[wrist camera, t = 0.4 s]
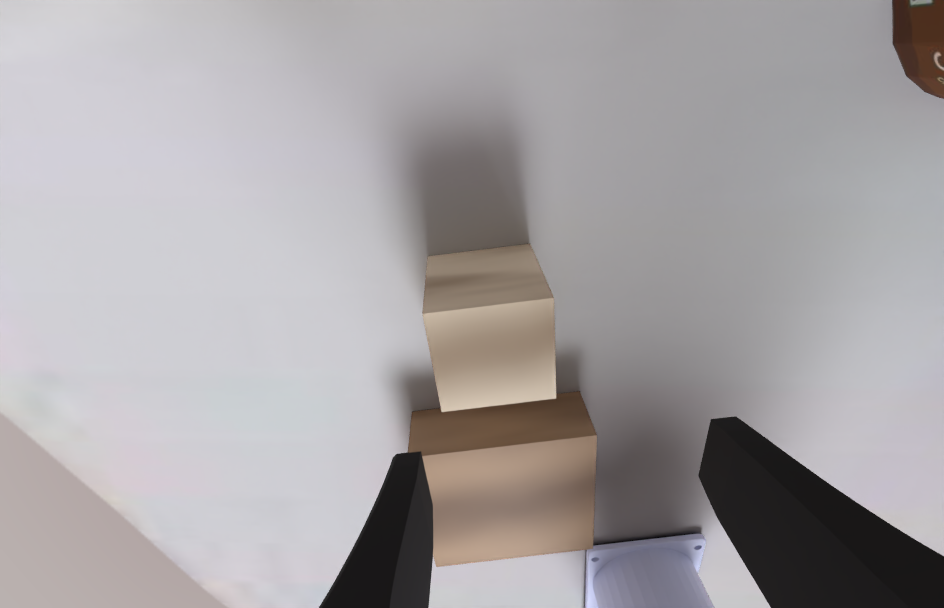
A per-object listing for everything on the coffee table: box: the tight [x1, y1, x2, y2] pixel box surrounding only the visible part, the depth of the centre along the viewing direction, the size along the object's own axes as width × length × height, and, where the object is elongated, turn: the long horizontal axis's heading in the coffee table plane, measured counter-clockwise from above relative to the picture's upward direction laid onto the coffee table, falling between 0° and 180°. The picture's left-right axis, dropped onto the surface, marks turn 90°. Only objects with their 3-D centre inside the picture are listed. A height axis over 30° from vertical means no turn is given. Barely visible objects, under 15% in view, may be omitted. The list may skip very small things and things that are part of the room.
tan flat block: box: [408, 391, 597, 567], centre depth 25 cm, size 9×9×4 cm
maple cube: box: [423, 244, 556, 412], centre depth 18 cm, size 4×4×5 cm
